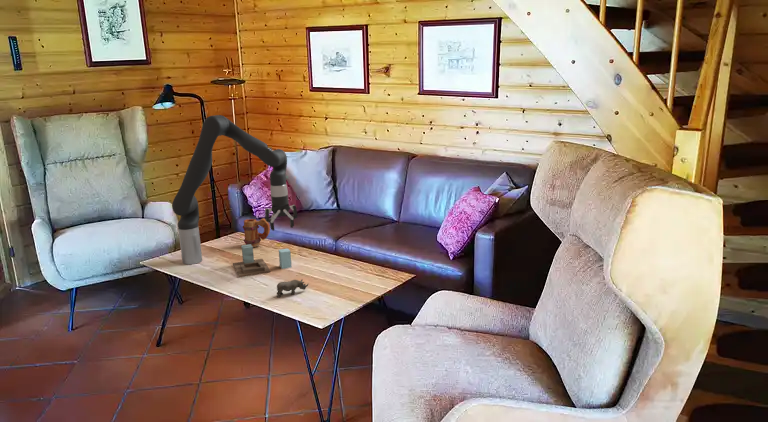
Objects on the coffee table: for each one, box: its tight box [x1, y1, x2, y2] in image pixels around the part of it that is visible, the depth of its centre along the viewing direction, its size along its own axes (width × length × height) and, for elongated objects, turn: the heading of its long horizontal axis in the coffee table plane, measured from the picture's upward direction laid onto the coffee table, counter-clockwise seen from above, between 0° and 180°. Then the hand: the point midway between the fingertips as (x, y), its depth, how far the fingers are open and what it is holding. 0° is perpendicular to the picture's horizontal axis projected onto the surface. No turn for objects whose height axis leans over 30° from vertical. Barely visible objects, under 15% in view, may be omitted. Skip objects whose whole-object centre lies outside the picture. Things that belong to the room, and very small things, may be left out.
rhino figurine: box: [276, 278, 309, 298], centre depth 234 cm, size 4×14×6 cm, turn 113°
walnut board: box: [232, 244, 271, 278], centre depth 264 cm, size 18×14×9 cm
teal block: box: [278, 248, 293, 270], centre depth 265 cm, size 4×4×8 cm
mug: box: [242, 217, 271, 248], centre depth 295 cm, size 15×8×15 cm, turn 80°
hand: (282, 228), depth 261 cm, fingers open, 8 cm apart
